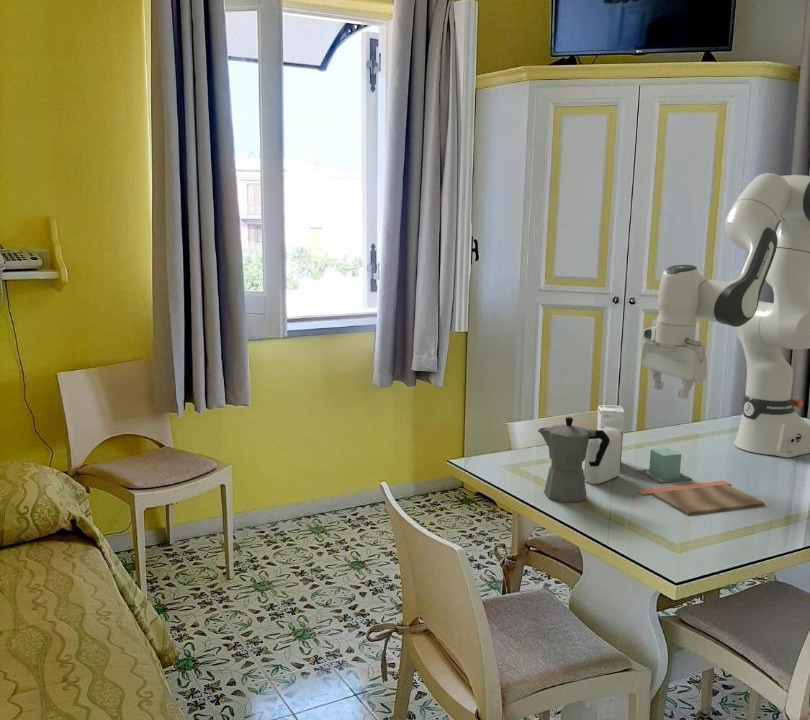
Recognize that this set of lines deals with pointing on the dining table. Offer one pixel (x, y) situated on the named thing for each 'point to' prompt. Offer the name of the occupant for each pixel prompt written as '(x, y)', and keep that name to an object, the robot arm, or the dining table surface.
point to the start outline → (665, 480)
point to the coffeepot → (569, 459)
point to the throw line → (682, 487)
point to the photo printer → (609, 461)
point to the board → (708, 499)
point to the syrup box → (611, 419)
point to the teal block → (665, 463)
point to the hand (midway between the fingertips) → (670, 393)
